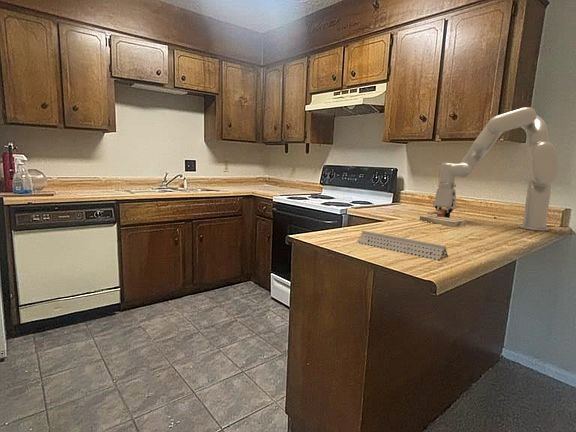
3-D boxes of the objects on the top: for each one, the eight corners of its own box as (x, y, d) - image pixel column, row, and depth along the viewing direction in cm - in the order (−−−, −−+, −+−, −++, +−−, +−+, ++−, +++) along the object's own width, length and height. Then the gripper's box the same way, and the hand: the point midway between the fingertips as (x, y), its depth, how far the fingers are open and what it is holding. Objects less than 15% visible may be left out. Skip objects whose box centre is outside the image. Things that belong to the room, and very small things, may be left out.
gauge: (442, 218, 198) (443, 208, 197) (448, 219, 194) (450, 209, 193) (425, 220, 190) (426, 210, 189) (431, 221, 186) (432, 211, 185)
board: (431, 219, 197) (431, 215, 197) (465, 225, 180) (465, 220, 180) (419, 220, 192) (420, 216, 191) (453, 226, 175) (454, 221, 175)
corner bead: (355, 244, 133) (356, 231, 132) (368, 241, 139) (369, 229, 138) (437, 263, 111) (439, 247, 110) (449, 258, 117) (450, 243, 116)
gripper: (465, 187, 187) (461, 221, 190) (437, 184, 201) (433, 216, 204) (456, 187, 183) (452, 222, 186) (428, 184, 197) (425, 217, 200)
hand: (443, 218), depth 195 cm, fingers closed on gauge, 4 cm apart
